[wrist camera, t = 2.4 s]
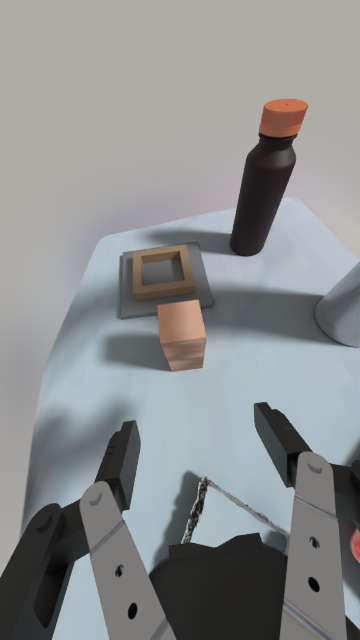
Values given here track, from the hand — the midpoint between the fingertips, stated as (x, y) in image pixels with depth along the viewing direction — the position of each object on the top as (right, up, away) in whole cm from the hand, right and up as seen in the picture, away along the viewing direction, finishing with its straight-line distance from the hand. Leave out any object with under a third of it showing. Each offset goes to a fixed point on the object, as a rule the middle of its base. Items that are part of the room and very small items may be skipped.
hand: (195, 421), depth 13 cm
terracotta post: (0, +1, +16) cm, 16 cm away
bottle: (+13, +23, +27) cm, 38 cm away
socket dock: (-4, +15, +24) cm, 29 cm away
